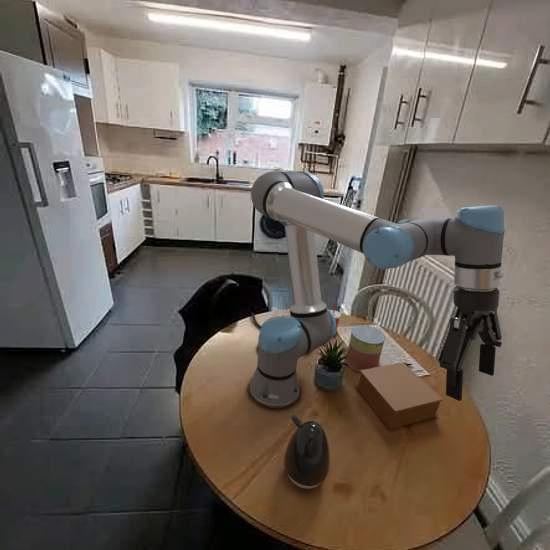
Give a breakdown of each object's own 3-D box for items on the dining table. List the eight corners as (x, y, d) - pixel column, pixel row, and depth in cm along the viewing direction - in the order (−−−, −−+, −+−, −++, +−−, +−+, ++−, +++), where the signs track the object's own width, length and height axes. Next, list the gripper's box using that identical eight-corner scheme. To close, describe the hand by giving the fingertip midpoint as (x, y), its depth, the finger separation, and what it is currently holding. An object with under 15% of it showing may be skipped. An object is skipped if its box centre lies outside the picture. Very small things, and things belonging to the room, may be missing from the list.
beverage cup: (320, 328, 130) (325, 299, 124) (334, 328, 131) (339, 298, 126) (325, 337, 124) (330, 306, 119) (339, 336, 125) (345, 306, 120)
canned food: (380, 375, 105) (387, 345, 101) (346, 369, 106) (352, 340, 102) (375, 355, 116) (382, 327, 111) (345, 350, 117) (350, 323, 112)
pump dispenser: (298, 445, 78) (305, 399, 72) (334, 472, 72) (345, 424, 66) (272, 475, 70) (278, 426, 65) (310, 507, 65) (320, 457, 59)
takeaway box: (356, 387, 99) (360, 370, 96) (398, 379, 104) (403, 362, 101) (389, 430, 84) (395, 411, 82) (436, 417, 90) (443, 399, 87)
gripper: (463, 306, 51) (458, 419, 55) (525, 277, 64) (517, 370, 68) (420, 297, 57) (419, 399, 61) (485, 272, 70) (479, 358, 74)
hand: (470, 384), depth 65 cm, fingers open, 13 cm apart
